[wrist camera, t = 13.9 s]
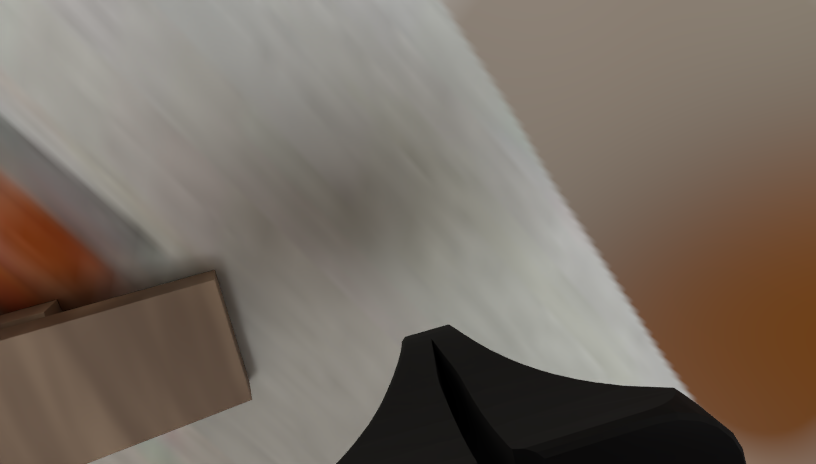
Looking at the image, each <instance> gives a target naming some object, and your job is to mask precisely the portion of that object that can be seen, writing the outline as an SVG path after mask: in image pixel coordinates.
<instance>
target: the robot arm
mask: <svg viewBox="0 0 816 464" xmlns="http://www.w3.org/2000/svg"><path fill="white" fill-rule="evenodd" d="M336 464H746V461H745V457H744V452H743V449H742V447H741V445H740V444H739V442H738V440H737V439H736V437H735V436H734V434H733V433H732V432H731V431H730V430H729V429H727V428H726V427H725V426H723V425H722V424H721V423H720V422H719V421H717V420H716V419H715V418H714V417H713V416H711V415H710V414H709V413H708V412H706V411H705V410H704V409H703V408H702V407H700V406H699V405H698V404H696V403H695V402H694V401H692V400H691V399H689V398H688V397H687V396H685V395H684V394H682V393H681V392H679V391H678V390H676V389H675V388H664V387H638V386H621V385H612V384H604V383H595V382H589V381H583V380H578V379H573V378H569V377H564V376H560V375H555V374H551V373H548V372H544V371H541V370H538V369H535V368H532V367H529V366H526V365H523V364H520V363H518V362H515V361H513V360H511V359H508V358H506V357H504V356H502V355H500V354H497V353H495V352H493V351H491V350H489V349H488V348H486V347H484V346H482V345H480V344H479V343H477V342H475V341H474V340H472V339H471V338H469V337H467V336H466V335H464V334H463V333H461V332H460V331H458V330H457V329H455V328H454V327H452V326H450V325H445V326H442V327H438V328H435V329H431V330H428V331H424V332H421V333H417V334H414V335H410V336H407V337H405V338H404V339H403V341H402V347H401V353H400V357H399V360H398V364H397V367H396V370H395V373H394V376H393V378H392V381H391V383H390V385H389V388H388V390H387V392H386V394H385V397H384V399H383V401H382V403H381V405H380V407H379V408H378V410H377V412H376V414H375V415H374V417H373V419H372V420H371V422H370V424H369V425H368V426H367V428H366V429H365V430H364V432H363V433H362V434H361V436H360V437H359V438H358V439H357V441H356V442H355V443H354V445H353V446H352V447H351V448H350V449H349V450H348V452H347V453H346V454H345V455H344V456H343V457H342V458H341V459H340V460H339V461H338V462H337V463H336Z"/></svg>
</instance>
